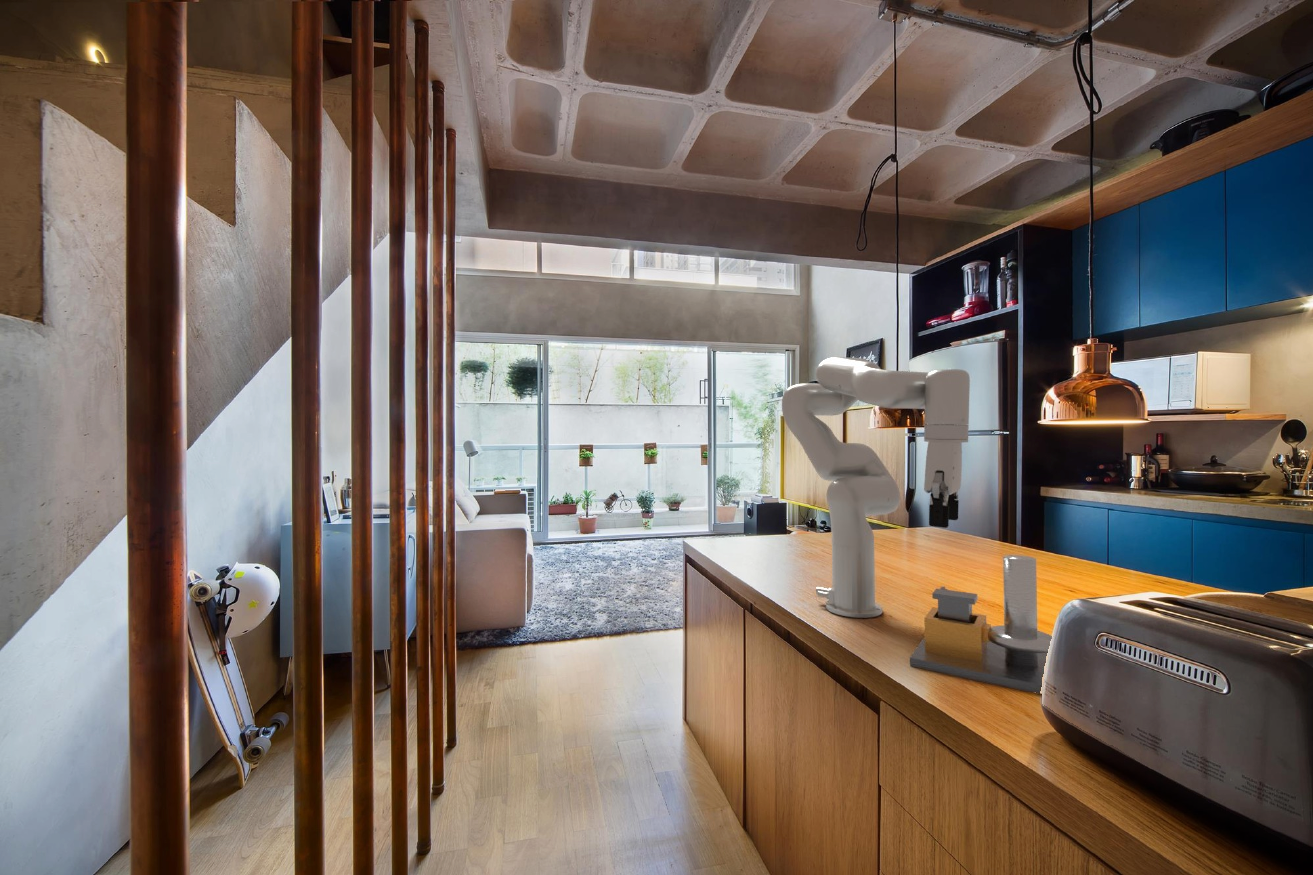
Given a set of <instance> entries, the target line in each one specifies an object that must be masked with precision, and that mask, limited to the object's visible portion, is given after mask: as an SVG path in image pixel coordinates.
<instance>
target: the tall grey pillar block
mask: <svg viewBox="0 0 1313 875" xmlns="http://www.w3.org/2000/svg"><path fill="white" fill-rule="evenodd" d="M931 594H932V600H937V608H938V618H940V619H946V620H952V621H958V622H964V623H970V624H972V613H973V605H974V606H976V603H977V601H978V593H972V592H966V591H957V590H951V589H950V590H949V589H948V590H944V589H940V588H935V590H934V591H933V592H932V593H931Z"/></svg>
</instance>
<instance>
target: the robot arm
mask: <svg viewBox="0 0 1313 875" xmlns="http://www.w3.org/2000/svg"><path fill="white" fill-rule="evenodd" d="M815 371H816V372H815V377H816V378H815V379H816V381H817V383H815V382H813V383H809V382H808V383H807V382H806V383H805V382H804V383H798V384H794V385H791V386H789V387H788V388H787V389H786V390H785V391H784V393H783V395H782V398H781V412H782V417H783V419H784V422H785V424H786V426H787V428H788V430H790V432H791V433H792V435H793V436H794V437H795V438H796V439H797V441H798V443H800V446H801V447H802V449H803V450H804V453H805V454H806V456H807V458H808V460H809V462H810V463H811V465H812V467H813V469H815V471H816V473H817V475H818V476H819V477H820V478H821V479H823V480H824V481H828V482H829V481H830V482H831V483H830V484H829V485H828V487H827V488H826V503H827V504H826V505H827V508H828V512H829V518H830V528H831V531H830V532H831V534H830V535H831V565H832V566H831V568H832V569H831V575H832V576H831V577H832V579H831V581H832V582H831V583H832V587H829V588H825V587H821V586H817V587H816V589H815V594H816V595H817V597H818V598H825V599H827V601H826V602H825V608H826V610H827V611H829V612H830V613H833V614H835V615H837V616H844V617H846V618H847V617H848V618H857V619H860V618H861V619H862V618H864V619H866V618H869V619H870V618H874V617H878V616H880V615H882V614H883V606H882V605H880V603H877V602H876V574H875V570H876V569H875V568H876V567H875V565H876V564H875V563H876V562H875V561H876V560H875V534H874V531H873V529H872V527H871V525H870V524H869V523H870V522H868V519H867V517H869V516H870V517H871V516H883V515H889V514H891V513H893V512H895V511H896V510H897V509H898V508H899V506H900V503H901V491H900V488H899V486H898V484H897V482H896V480H895V479H894V477H893V476H892V474H891V473H890V471H889V470H888V469H887V467H886V466H885V464H884V462H883V461H882V460H881V458H880V457H879V456H878V454H877V453H876V452H875V450H874V449H872V448H871V447H870V446H868V445H866V444H863V443H859V442H853V443H852V442H842V441H840V440H839V439H838V437H836V436H835V434H834V432H833V430H832V428H831V427H829V425H828V424H826V422H824V421H823V420H822V419H819V418H818V417H816V416H828V417H829V416H830V417H831V416H832V417H833V416H839V415H842V414H844V413H845V412H846V411H848V410H849V409H850V408H851V407H852V406H853V405H854V404H856V403H857V402H858V401H860V402H862V403H864V404H869V405H873V406H877V407H879V408H880V407H881V408H886V409H910V410H911V409H913V410H915V409H916V410H924V421H923V422H924V427H923V428H924V429H923V430H924V431H923V434H924V435H923V437H924V438H923V442H926V443H927V446H926V447H927V449H926V456H925V458H926V459H925V471H924V482H923V483H924V484H923V486H924V487H923V491H924V493H926V494H930V497H929V498H930V499H929V505H928V506H929V507H928V525H929V526H930V527H935V528H944V529H946V528H948V527H949V524H950V523H949V520H950V521H958V520H959V502H960V500H959V492H958V491H960V489H961V486H962V471H963V470H962V466H963V464H962V463H963V459H962V458H963V451H962V449H963V448H962V446H963V445H962V443H963V444H964V443H969V425H970V423H969V422H970V421H969V419H970V386H971V384H970V382H971V380H970V374H969V372H968V371H967V370H964V369H956V368H954V369H953V368H947V369H935V370H932V371H929V372H926V371H925V372H924V371H910V370H909V371H908V370H907V371H905V370H890V369H889V370H888V369H887V370H886V369H881V367H880V366H879V365H878V364H876V363H875V362H872V361H869V360H868V359H865V358H861V357H860V358H859V357H844V356H843V357H842V356H832V357H828V358H826V359H824V360H822V361H821V362H820V363H819V364H818V366H817V367H816V370H815Z"/></svg>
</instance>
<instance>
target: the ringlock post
mask: <svg viewBox="0 0 1313 875" xmlns="http://www.w3.org/2000/svg"><path fill="white" fill-rule="evenodd" d="M1002 566H1003V567H1002V569H1003V570H1002V571H1003V572H1002V573H1003V574H1002V575H1003V576H1002V577H1003V578H1002V580H1003V583H1002V584H1003V619H1004V620H1003V624H1004V625H993V626H991V623H987V615H986V614H981V613H973V612H972V624H970V623H964V622H958V621H952V620H946V619H940V618H938V607H934V606H933V607H931V609H930V610H929V611H928V613H927V614H926V615H925V617H924V637H923V638H922V640H921V641H920V643H919V644H918V645H917V647H916V648H915V649H914V651H913V652H912V654H911V655H910V657H909V667H913V668H917V669H922V670H927V671H930V672H931V671H932V672H936V673H940V674H943V675H944V674H946V675H950V676H953V677H959V678H963V679H968V680H972V681H977V682H982V683H987V684H991V685H996V686H999V687H1004V688H1010V689H1013V690H1018V691H1024V692H1026V693H1027V692H1028V693H1032V692H1036V693H1038V695H1041V694H1040V691H1041V687H1042V677H1043V674H1044V666H1045V663H1046V656H1047V653H1048V649H1049V646H1050V641H1051V639H1052V636H1053V635H1051V634H1048V633H1047V632H1044V631H1040V630H1038V596H1037V595H1038V593H1037V592H1038V589H1037V588H1038V587H1037V583H1038V582H1037V558H1035V557H1033V556H1028V555H1022V554H1018V555H1017V554H1004V555H1002ZM1036 693H1035V694H1036Z"/></svg>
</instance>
